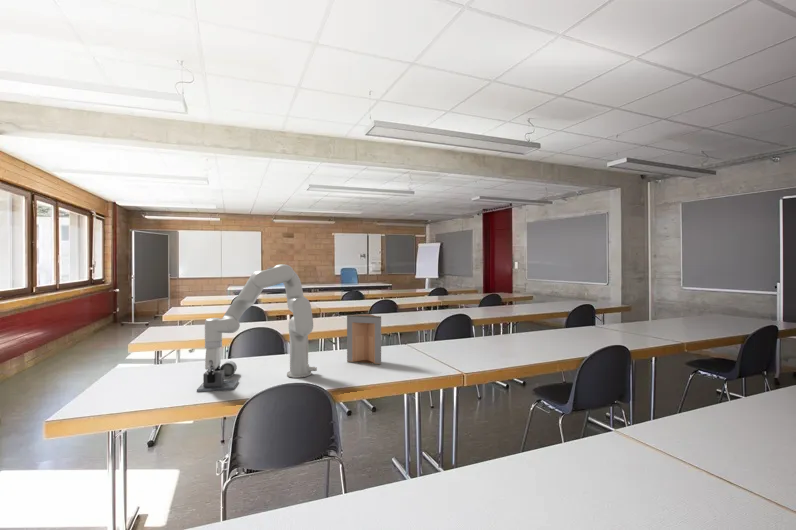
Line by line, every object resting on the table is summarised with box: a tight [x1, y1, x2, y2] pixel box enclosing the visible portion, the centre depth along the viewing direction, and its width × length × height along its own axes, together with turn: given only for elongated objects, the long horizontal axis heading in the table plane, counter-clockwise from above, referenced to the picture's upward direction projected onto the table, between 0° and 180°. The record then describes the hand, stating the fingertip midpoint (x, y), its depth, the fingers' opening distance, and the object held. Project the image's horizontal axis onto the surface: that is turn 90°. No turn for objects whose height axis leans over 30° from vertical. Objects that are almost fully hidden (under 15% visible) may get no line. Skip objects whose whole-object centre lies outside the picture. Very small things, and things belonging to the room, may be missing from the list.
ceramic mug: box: [220, 360, 237, 379], centre depth 215 cm, size 11×8×8 cm
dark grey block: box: [202, 370, 225, 387], centre depth 196 cm, size 8×6×6 cm
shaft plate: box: [196, 379, 239, 393], centre depth 197 cm, size 16×12×5 cm
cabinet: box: [346, 313, 382, 366], centre depth 244 cm, size 21×10×28 cm, turn 73°
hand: (213, 379), depth 196 cm, fingers open, 9 cm apart
